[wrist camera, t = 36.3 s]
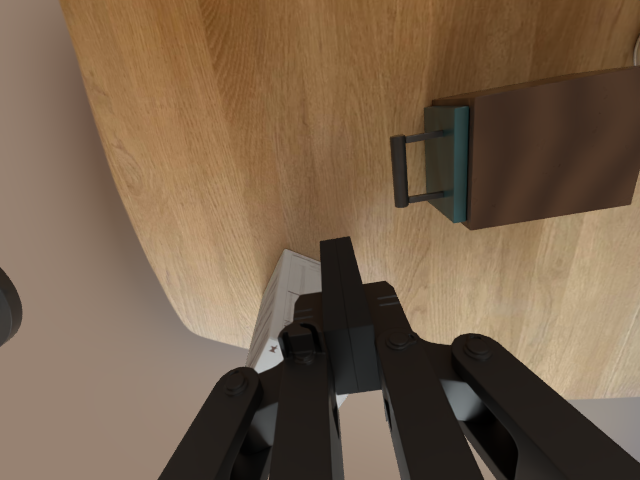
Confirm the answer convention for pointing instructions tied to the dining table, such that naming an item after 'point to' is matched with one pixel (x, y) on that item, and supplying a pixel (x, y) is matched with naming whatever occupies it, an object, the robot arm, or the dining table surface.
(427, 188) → the drawer
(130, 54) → the dining table surface
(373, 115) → the dining table surface
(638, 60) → the lidded bowl
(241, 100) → the dining table surface
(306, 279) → the supplement box
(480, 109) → the cabinet
